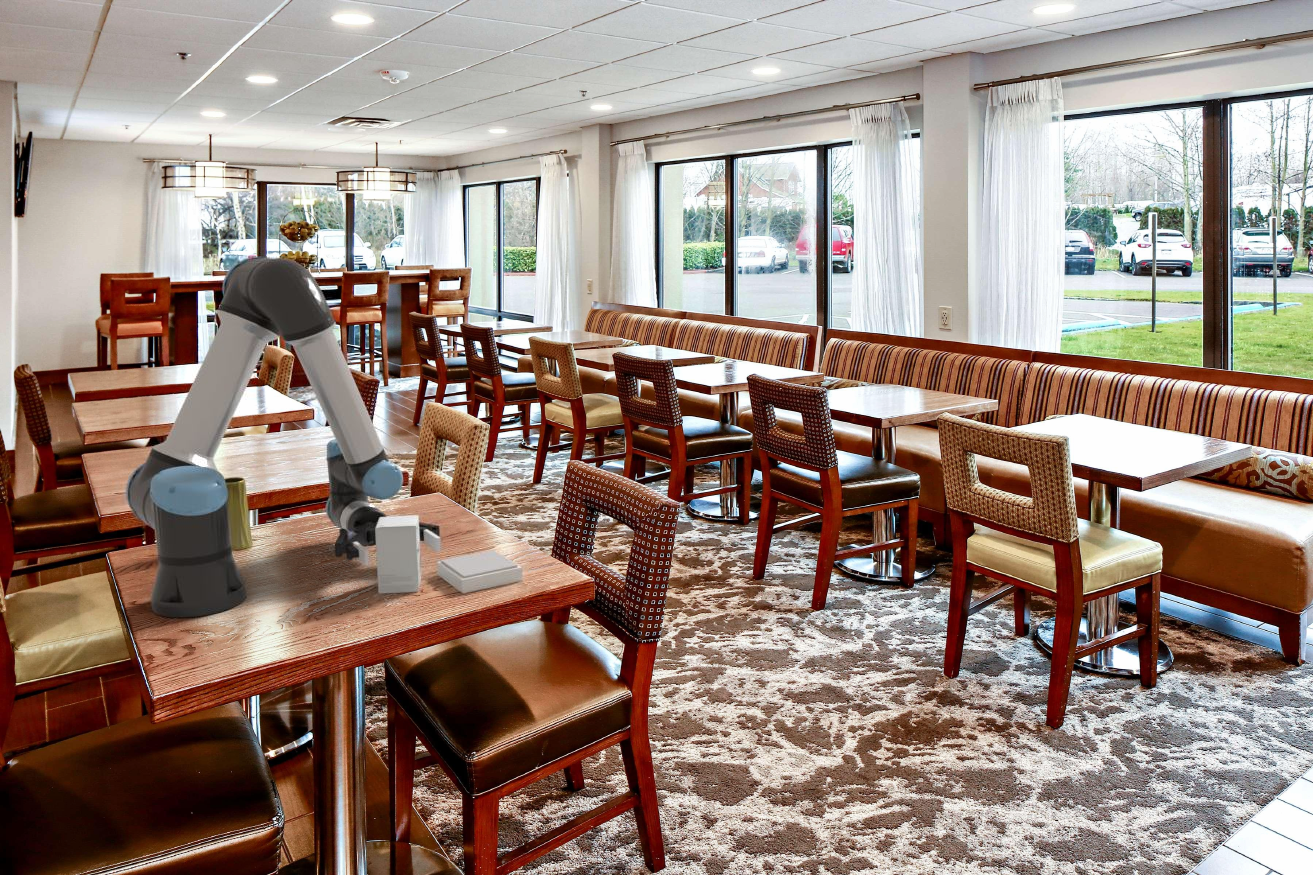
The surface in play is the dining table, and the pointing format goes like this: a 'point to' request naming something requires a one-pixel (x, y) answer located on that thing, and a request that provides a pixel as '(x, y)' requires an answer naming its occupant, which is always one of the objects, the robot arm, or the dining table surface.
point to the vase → (238, 513)
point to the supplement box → (398, 554)
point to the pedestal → (479, 571)
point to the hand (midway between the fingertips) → (403, 551)
